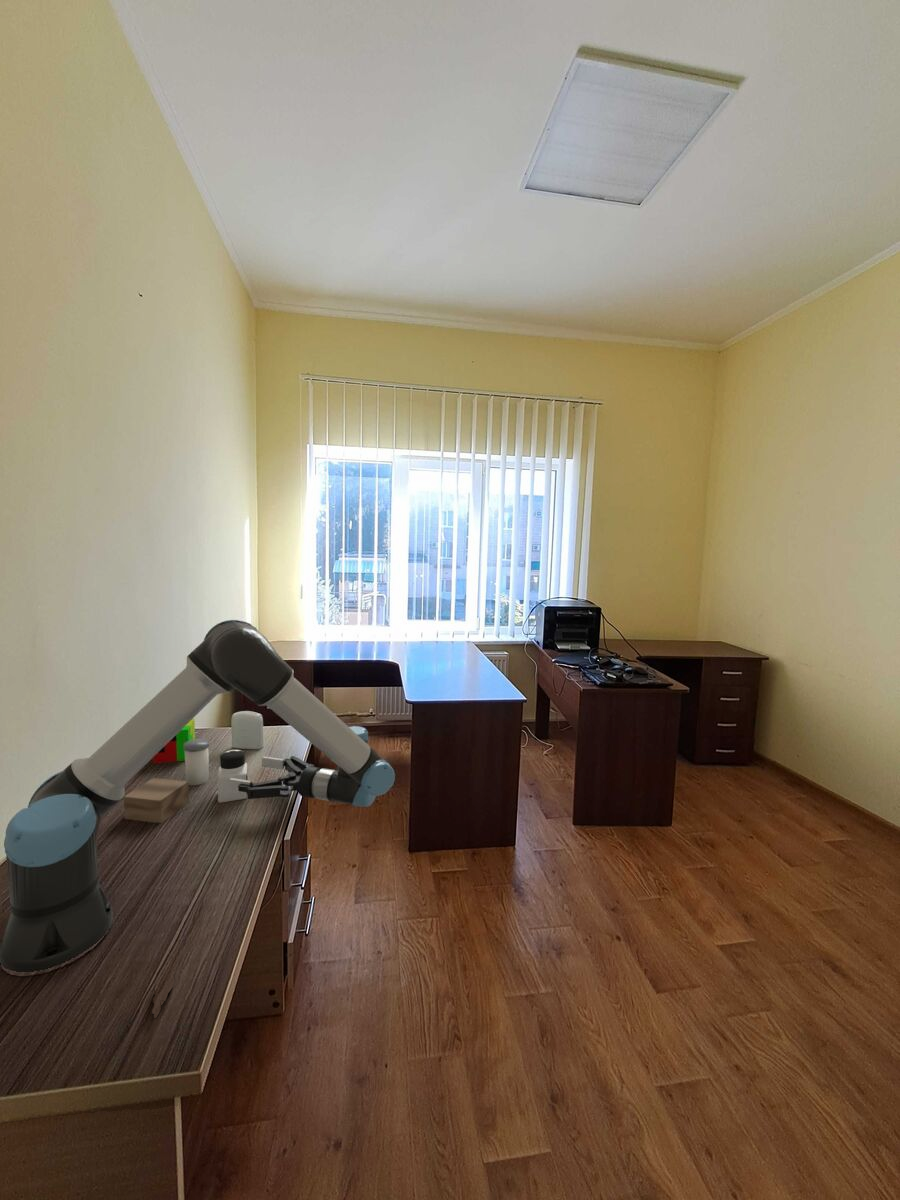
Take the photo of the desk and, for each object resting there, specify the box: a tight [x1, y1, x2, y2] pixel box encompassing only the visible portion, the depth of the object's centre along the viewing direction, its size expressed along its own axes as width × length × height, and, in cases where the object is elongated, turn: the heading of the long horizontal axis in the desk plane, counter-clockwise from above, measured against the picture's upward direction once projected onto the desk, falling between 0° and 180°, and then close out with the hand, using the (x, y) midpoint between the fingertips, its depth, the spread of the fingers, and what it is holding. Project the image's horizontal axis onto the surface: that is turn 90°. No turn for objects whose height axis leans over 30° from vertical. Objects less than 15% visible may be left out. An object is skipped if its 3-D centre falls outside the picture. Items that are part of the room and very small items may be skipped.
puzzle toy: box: [152, 718, 196, 764], centre depth 156 cm, size 10×10×10 cm
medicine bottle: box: [217, 749, 249, 804], centre depth 133 cm, size 7×7×12 cm
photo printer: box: [230, 710, 264, 750], centre depth 163 cm, size 10×4×12 cm, turn 85°
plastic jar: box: [184, 738, 210, 786], centre depth 140 cm, size 6×6×11 cm
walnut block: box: [123, 777, 190, 824], centre depth 125 cm, size 10×10×6 cm
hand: (247, 771), depth 132 cm, fingers open, 13 cm apart
